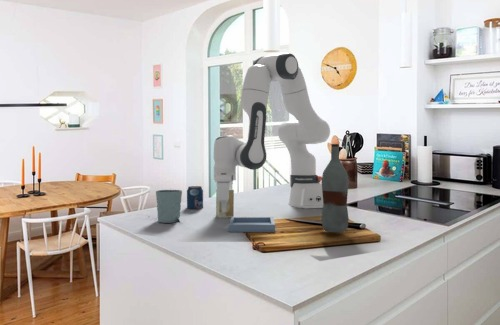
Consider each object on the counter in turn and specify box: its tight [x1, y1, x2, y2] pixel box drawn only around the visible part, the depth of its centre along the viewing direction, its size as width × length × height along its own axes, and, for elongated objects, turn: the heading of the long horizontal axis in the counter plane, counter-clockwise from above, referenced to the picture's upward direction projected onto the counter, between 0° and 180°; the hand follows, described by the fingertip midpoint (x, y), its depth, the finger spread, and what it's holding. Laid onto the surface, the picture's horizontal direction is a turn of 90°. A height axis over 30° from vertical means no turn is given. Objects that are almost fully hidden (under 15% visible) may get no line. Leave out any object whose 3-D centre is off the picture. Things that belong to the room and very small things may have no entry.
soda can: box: [186, 185, 204, 211], centre depth 187 cm, size 7×7×12 cm
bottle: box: [321, 143, 350, 233], centre depth 150 cm, size 9×9×30 cm
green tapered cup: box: [155, 189, 183, 224], centre depth 172 cm, size 10×10×12 cm
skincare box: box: [215, 188, 235, 219], centre depth 173 cm, size 6×4×12 cm
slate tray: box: [227, 216, 276, 233], centre depth 156 cm, size 16×16×2 cm
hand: (225, 210), depth 173 cm, fingers open, 7 cm apart
